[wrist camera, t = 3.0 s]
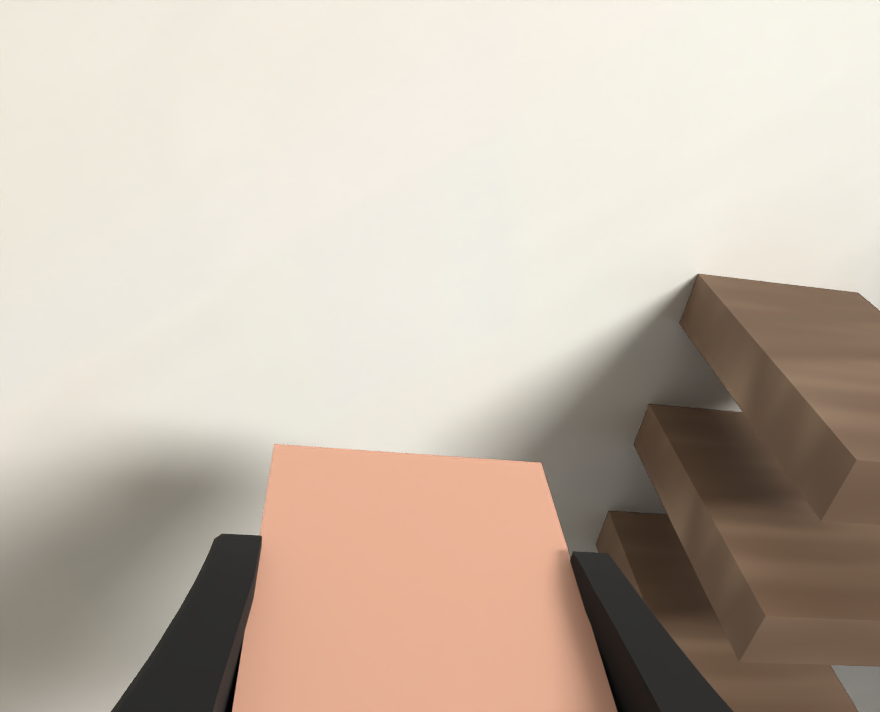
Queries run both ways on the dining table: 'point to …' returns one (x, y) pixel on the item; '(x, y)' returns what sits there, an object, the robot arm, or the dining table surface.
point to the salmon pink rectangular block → (414, 590)
